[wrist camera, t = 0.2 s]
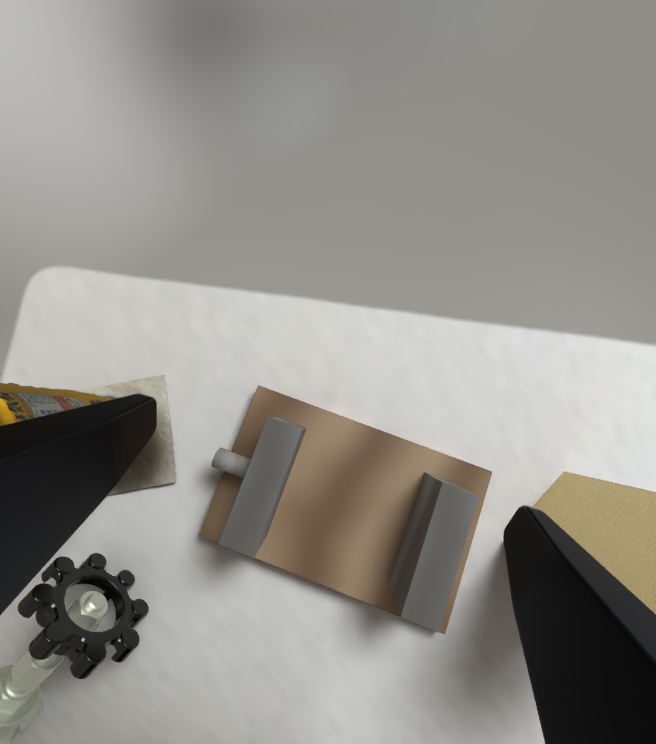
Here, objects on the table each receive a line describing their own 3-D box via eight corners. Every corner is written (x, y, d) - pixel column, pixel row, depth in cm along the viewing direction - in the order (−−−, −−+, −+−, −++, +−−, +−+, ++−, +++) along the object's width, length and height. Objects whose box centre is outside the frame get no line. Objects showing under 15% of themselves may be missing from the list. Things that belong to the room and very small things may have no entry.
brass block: (564, 598, 21) (866, 832, 9) (504, 539, 22) (715, 686, 10) (624, 528, 22) (984, 662, 10) (564, 471, 22) (834, 532, 10)
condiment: (45, 397, 23) (-254, 375, 11) (165, 375, 23) (-7, 329, 12) (52, 505, 22) (-268, 604, 10) (178, 481, 22) (4, 551, 11)
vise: (485, 469, 22) (523, 482, 18) (439, 624, 21) (468, 679, 16) (254, 384, 23) (235, 375, 19) (197, 527, 22) (163, 554, 17)
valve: (24, 768, 20) (167, 610, 21) (-122, 935, 14) (95, 695, 15) (-44, 685, 21) (99, 536, 22) (-215, 806, 14) (0, 585, 16)
